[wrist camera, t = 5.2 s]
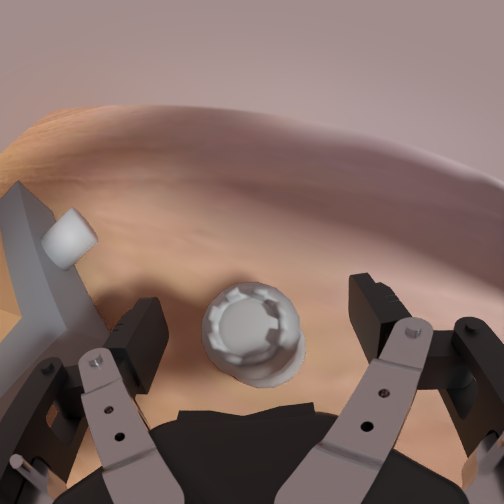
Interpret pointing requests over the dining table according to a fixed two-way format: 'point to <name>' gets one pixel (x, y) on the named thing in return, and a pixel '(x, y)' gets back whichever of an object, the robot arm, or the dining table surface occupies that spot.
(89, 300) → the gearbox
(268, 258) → the dining table surface
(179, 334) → the dining table surface
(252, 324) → the rook chess piece
